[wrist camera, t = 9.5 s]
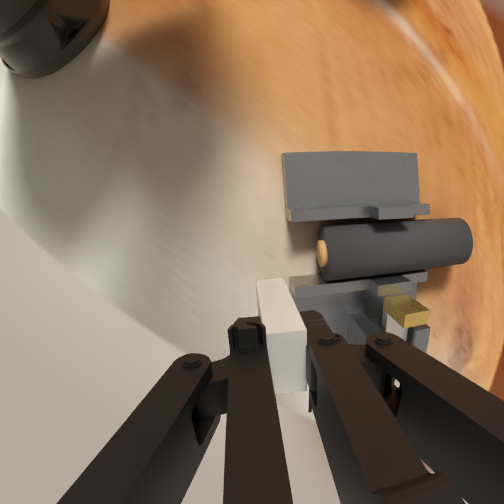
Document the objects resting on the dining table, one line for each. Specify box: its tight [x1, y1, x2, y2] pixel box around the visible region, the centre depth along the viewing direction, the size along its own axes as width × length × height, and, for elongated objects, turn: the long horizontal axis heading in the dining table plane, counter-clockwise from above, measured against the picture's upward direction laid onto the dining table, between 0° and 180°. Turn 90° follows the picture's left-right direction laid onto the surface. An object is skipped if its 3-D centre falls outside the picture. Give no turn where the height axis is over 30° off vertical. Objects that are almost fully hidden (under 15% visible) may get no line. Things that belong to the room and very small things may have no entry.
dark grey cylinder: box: [317, 218, 473, 281], centre depth 28 cm, size 17×5×5 cm, turn 94°
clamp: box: [282, 151, 430, 353], centre depth 27 cm, size 14×23×7 cm, turn 4°
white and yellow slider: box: [381, 294, 429, 341], centre depth 24 cm, size 2×8×4 cm, turn 4°
